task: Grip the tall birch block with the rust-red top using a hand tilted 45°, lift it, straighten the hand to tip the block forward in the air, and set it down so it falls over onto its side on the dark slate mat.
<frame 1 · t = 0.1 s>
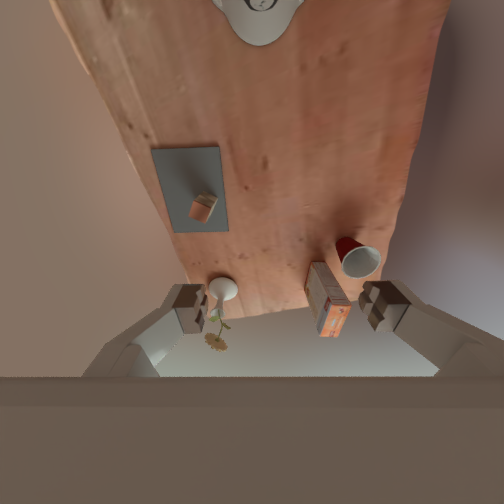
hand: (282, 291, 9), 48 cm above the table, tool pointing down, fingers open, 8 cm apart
slate mat: (194, 194, 54), on the table
birch block: (208, 201, 55), point 1 cm above the table, touching slate mat
flower in vase: (225, 286, 74), on the table
plastic cup: (344, 243, 62), on the table
cracker box: (314, 275, 70), on the table
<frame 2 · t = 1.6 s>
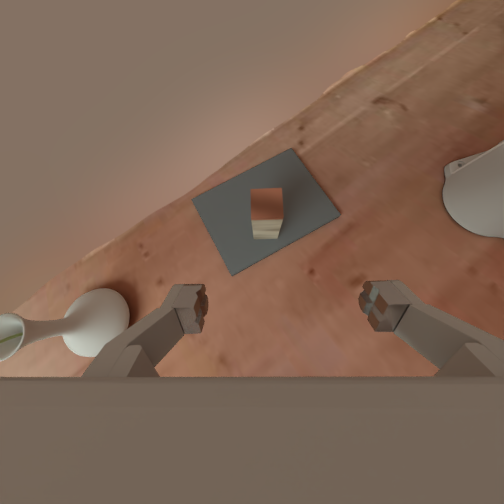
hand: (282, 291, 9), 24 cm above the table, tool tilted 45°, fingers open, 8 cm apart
slate mat: (263, 208, 37), on the table
birch block: (265, 227, 35), point 1 cm above the table, touching slate mat
flower in vase: (103, 323, 34), on the table
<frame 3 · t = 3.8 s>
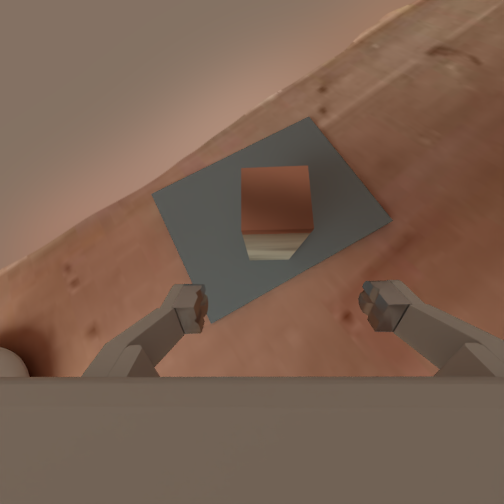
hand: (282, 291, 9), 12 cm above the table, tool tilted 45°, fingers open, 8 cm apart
slate mat: (266, 209, 23), on the table
birch block: (268, 241, 22), point 1 cm above the table, touching slate mat
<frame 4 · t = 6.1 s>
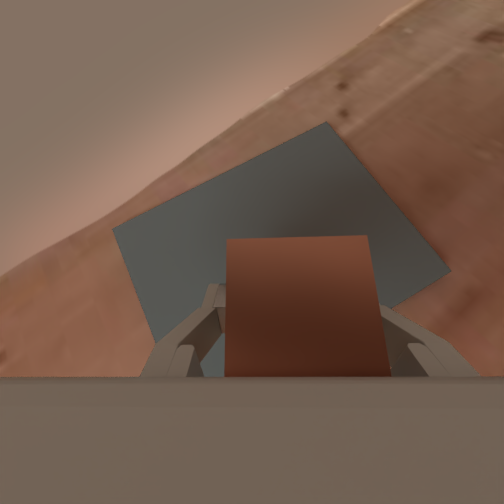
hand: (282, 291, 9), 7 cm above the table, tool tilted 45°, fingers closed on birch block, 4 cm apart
slate mat: (270, 250, 17), on the table
birch block: (274, 300, 15), point 1 cm above the table, touching gripper, slate mat
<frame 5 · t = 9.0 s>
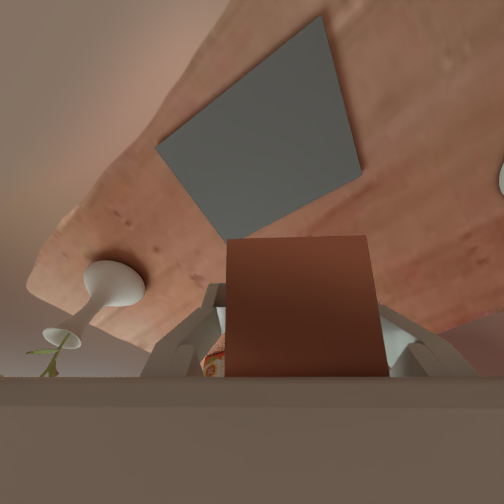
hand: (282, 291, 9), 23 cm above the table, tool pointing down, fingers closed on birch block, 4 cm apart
slate mat: (261, 161, 27), on the table
birch block: (274, 300, 15), point 19 cm above the table, tilted 44°, touching gripper
flower in vase: (120, 280, 39), on the table
cracker box: (231, 354, 53), on the table
when the fingers open (8 cm above the table, at t = 12.9 s): birch block moves 2 cm and tips over, resting on slate mat.
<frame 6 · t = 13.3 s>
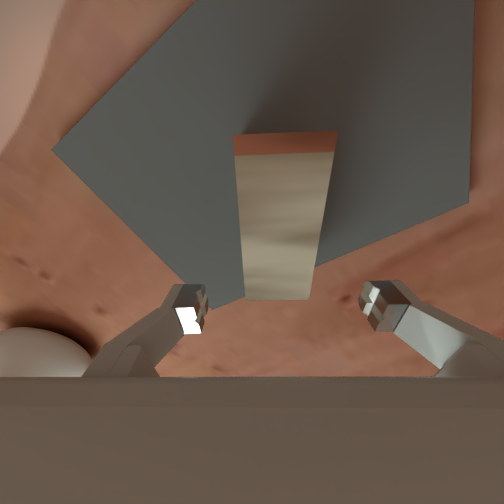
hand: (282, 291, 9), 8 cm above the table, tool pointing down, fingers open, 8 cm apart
slate mat: (270, 175, 14), on the table
birch block: (274, 279, 15), point 3 cm above the table, tilted 90°, touching slate mat
flower in vase: (57, 345, 26), on the table
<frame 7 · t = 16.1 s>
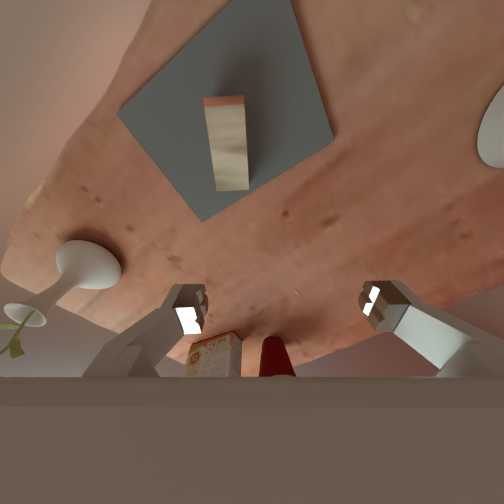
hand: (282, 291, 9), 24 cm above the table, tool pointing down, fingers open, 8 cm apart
slate mat: (229, 127, 26), on the table
birch block: (234, 187, 27), point 3 cm above the table, tilted 90°, touching slate mat
flower in vase: (96, 263, 38), on the table
plastic cup: (273, 341, 52), on the table
cracker box: (217, 342, 52), on the table
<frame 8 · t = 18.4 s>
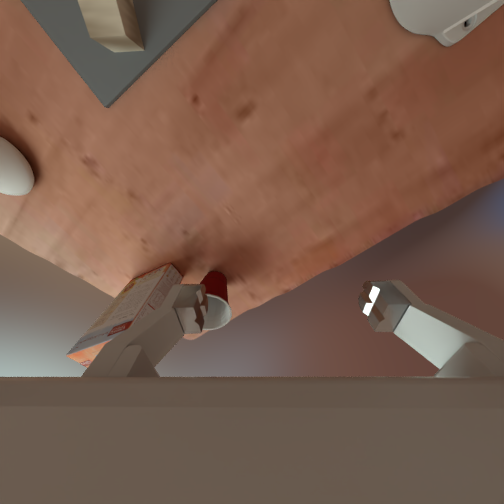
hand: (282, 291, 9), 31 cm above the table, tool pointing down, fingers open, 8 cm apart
birch block: (119, 44, 24), point 3 cm above the table, tilted 90°, touching slate mat
flower in vase: (9, 167, 36), on the table
plastic cup: (216, 278, 50), on the table
cracker box: (158, 278, 50), on the table
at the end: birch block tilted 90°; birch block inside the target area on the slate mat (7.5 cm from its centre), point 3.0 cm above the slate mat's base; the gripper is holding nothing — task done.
